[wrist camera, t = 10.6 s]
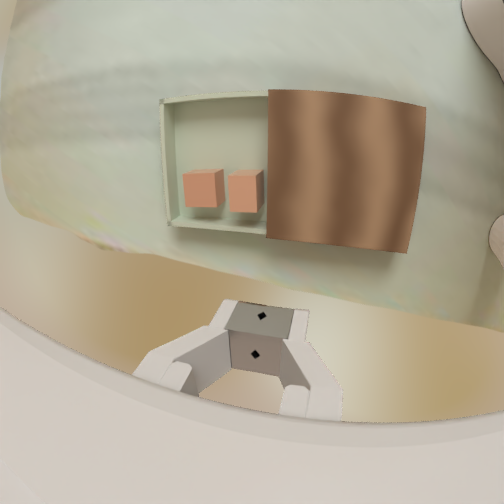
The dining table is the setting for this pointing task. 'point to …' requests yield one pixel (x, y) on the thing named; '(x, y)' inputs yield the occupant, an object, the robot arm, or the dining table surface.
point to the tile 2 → (246, 190)
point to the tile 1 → (204, 187)
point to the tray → (213, 153)
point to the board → (343, 169)
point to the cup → (498, 239)
